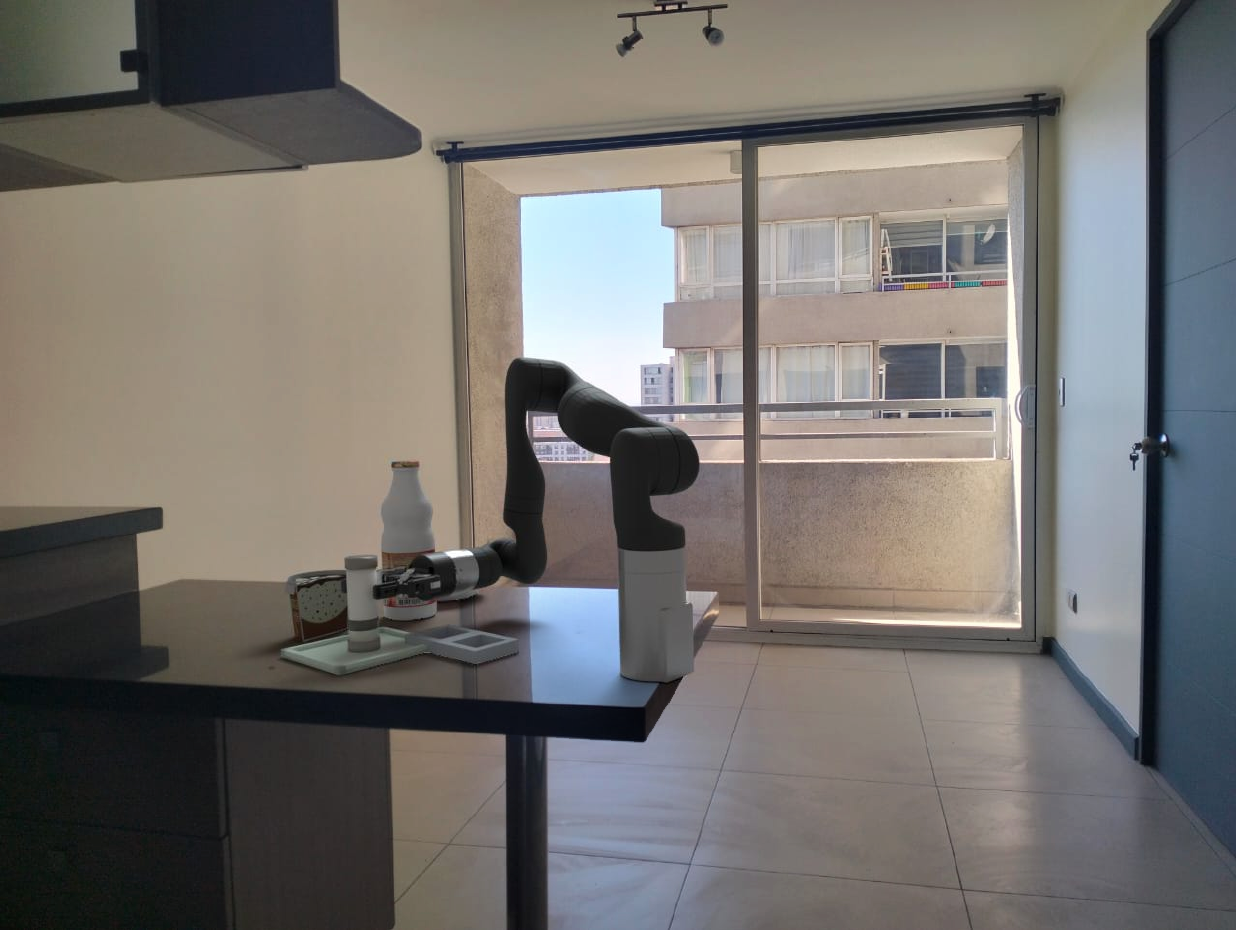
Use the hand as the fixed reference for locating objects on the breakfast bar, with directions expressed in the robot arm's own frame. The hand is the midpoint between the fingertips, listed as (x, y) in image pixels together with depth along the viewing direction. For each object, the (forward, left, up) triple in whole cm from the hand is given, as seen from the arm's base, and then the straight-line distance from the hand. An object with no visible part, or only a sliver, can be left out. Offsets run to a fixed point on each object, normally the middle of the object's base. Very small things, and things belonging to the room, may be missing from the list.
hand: (357, 589), depth 132 cm
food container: (+18, -3, -10) cm, 21 cm away
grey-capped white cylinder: (0, -1, -9) cm, 9 cm away
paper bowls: (+24, -36, -10) cm, 44 cm away
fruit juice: (+16, -21, -10) cm, 28 cm away
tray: (0, -1, -10) cm, 10 cm away
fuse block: (-11, -11, -10) cm, 18 cm away
